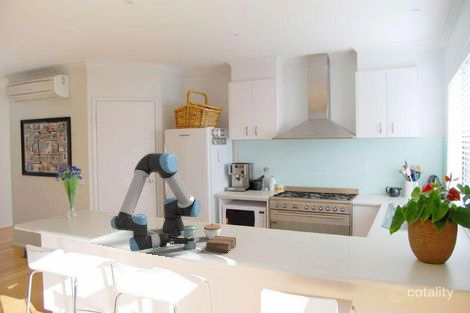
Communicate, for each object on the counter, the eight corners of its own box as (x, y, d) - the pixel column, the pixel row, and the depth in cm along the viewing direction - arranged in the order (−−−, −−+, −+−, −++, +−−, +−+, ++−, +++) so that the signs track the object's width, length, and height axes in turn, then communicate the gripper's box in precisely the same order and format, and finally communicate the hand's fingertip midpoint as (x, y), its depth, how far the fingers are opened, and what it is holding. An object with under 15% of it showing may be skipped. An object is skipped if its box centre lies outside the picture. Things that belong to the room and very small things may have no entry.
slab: (215, 244, 206) (215, 235, 206) (236, 245, 202) (235, 237, 202) (206, 250, 194) (206, 242, 194) (228, 253, 190) (227, 244, 189)
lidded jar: (210, 241, 211) (209, 226, 210) (201, 238, 220) (200, 223, 219) (224, 238, 217) (224, 223, 217) (215, 234, 226) (214, 220, 225)
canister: (187, 245, 205) (186, 225, 205) (199, 246, 203) (198, 225, 202) (181, 249, 198) (180, 228, 197) (193, 250, 196) (192, 229, 195)
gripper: (154, 241, 204) (188, 236, 213) (164, 253, 181) (202, 247, 190) (153, 228, 204) (188, 224, 212) (163, 239, 181) (202, 234, 190)
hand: (195, 235), depth 201 cm, fingers open, 13 cm apart
